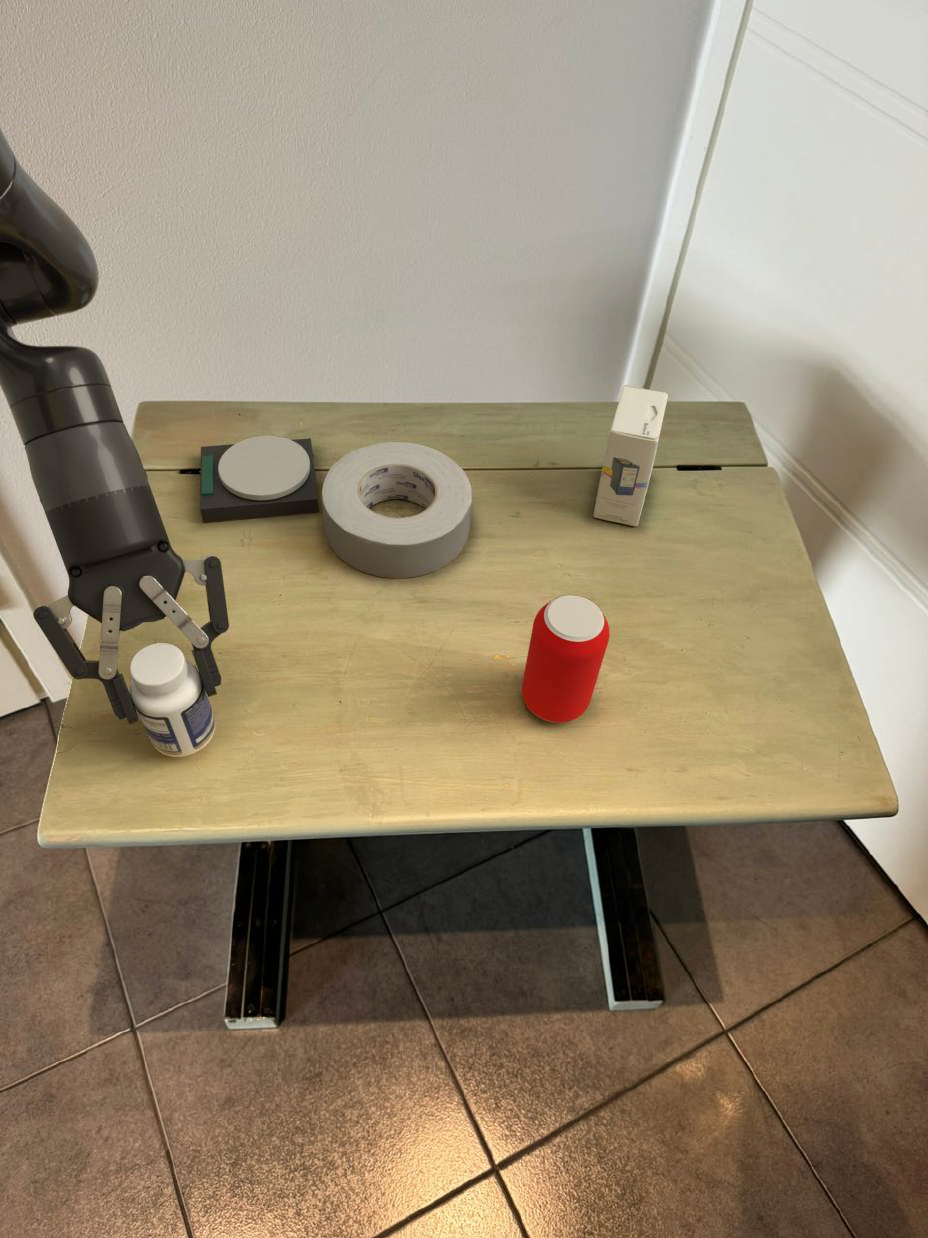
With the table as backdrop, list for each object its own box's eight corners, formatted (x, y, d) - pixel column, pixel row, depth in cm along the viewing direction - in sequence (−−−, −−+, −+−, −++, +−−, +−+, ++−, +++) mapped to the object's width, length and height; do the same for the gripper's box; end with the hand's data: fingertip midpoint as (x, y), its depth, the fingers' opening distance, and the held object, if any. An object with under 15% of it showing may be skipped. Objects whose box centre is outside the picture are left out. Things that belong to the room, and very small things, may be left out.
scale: (203, 523, 87) (197, 501, 85) (204, 460, 93) (198, 439, 91) (319, 512, 89) (316, 491, 87) (312, 451, 95) (310, 430, 93)
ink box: (636, 528, 90) (662, 441, 81) (589, 518, 90) (610, 430, 81) (647, 478, 95) (672, 391, 86) (603, 468, 96) (623, 381, 87)
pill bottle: (207, 695, 73) (184, 626, 65) (223, 745, 70) (202, 678, 62) (143, 716, 71) (113, 647, 63) (158, 768, 68) (128, 702, 60)
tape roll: (497, 518, 90) (502, 482, 86) (409, 602, 82) (409, 568, 78) (387, 458, 95) (386, 422, 91) (293, 532, 87) (288, 496, 83)
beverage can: (530, 664, 78) (546, 578, 68) (595, 683, 77) (620, 598, 67) (512, 717, 74) (526, 633, 65) (580, 737, 73) (605, 656, 64)
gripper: (-17, 519, 56) (73, 752, 59) (197, 464, 60) (270, 682, 63) (0, 525, 63) (80, 732, 66) (191, 475, 67) (257, 670, 70)
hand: (173, 706), depth 64 cm, fingers closed on pill bottle, 5 cm apart
